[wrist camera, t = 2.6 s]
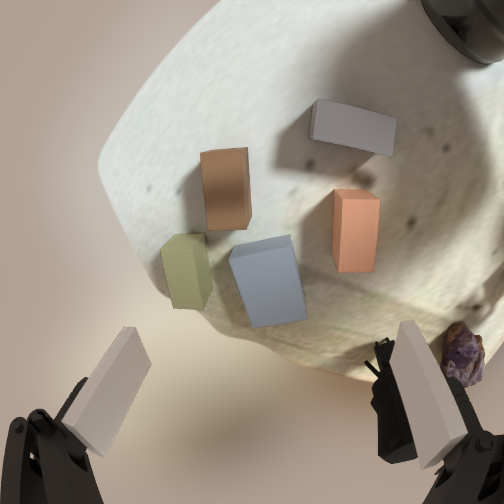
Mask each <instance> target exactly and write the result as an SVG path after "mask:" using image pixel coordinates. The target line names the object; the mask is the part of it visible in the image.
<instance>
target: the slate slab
mask: <svg viewBox="0 0 504 504" xmlns="http://www.w3.org/2000/svg"><path fill="white" fill-rule="evenodd" d="M228 260H229V262H230V265H231V268H232V271H233V274H234V277H235V280H236V283H237V286H238V289H239V291H240V294H241V297H242V300H243V303H244V306H245V308H246V311H247V314H248V317H249V320H250V322H251V325H252V328H258V327H265V326H272V325H278V324H284V323H290V322H296V321H302V320H307V312H306V302H305V297H304V292H303V288H302V283H301V279H300V274H299V270H298V265H297V261H296V257H295V252H294V248H293V244H292V240H291V235H290V234H288V235H284V236H279V237H274V238H270V239H265V240H260V241H256V242H251V243H247V244H242V245H238V246H234V248H233V250H232V252H231V255H230V257H229V259H228Z"/></svg>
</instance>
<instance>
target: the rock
mask: <svg viewBox="0 0 504 504" xmlns="http://www.w3.org/2000/svg"><path fill="white" fill-rule="evenodd" d="M442 352H443V354H442V360H441V365H440V369H441V371H442V373H443V375H444V377H445V378H448V377H452V376H454V377H456V378H457V379H458V380H459V381H460V382H461V383H462V385H463V387H464V388H466V387H469V386H472V385H474V384H476V383H477V382H480V381H481V379H482V377H483V376H484V372H485V369H484V365H485V363H484V357H485V352H484V348H483V345H482V337H481V336H480V335H474V334H473V333H472V332H471V331H470V330H469V329H468V327H467V326H466V325H465V323H464V322H463V321H460V322H458V323H455V324H454V325H453V326H452V327H450V329H449V330H448V332H447V336H446V344H445V346H444V347H443V350H442Z"/></svg>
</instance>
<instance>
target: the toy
mask: <svg viewBox="0 0 504 504" xmlns="http://www.w3.org/2000/svg"><path fill="white" fill-rule="evenodd" d="M386 342H387V343H384V344H382V345H379V344H378V342H375V344H376V347H374V350H375V354H376V358H377V362H378V365H379V369H380V372H378V371H377V370H376V369H375V368H374V367H373V366H372V365H371V364H370V363H369V362H368V361H367V360H366V361H365V362H364V363H365V365H366V366H367V367H368V368H369V369H370V370H371V371H372V372H373V373H374V374H375V375H376V376H377V377H378V379H377V380H376V381H375V382H374V384H373V386H372V391H373V396H374V397H373V399H372V401H371V405H372V407H373V408H374V410H375V411H376V413H377V415H378V456H380V457H381V458H382V459H383V460H385V461H386V462H388V463H390V464H394V463H400V462H404V461H409V460H413V459H416V458H418V454H417V450H416V446H415V443H414V439H413V435H412V431H411V428H410V424H409V421H408V417H407V414H406V411H405V407H404V404H403V401H402V398H401V395H400V391H399V388H398V385H397V382H396V379H395V377H394V374H393V371H392V368H391V365H390V358H391V355H392V352H393V348H394V345H395V341H394V340H392V341H390V340H389V339H388V337H387V338H386Z"/></svg>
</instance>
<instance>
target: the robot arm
mask: <svg viewBox="0 0 504 504" xmlns="http://www.w3.org/2000/svg"><path fill="white" fill-rule="evenodd" d="M421 1H422V4H423V6H424V9H425V11H426V12H427V14H428V16H429V18H430V19H431V21H432V22H433V24H434V25H435V27H436V28H437V29H438V30H439V32H440V33H441V34H442V35H443V36H444V38H445V39H446V40H447V41H448V42H449V43H450V44H451V45H452V46H454V47H455V48H456V49H457V50H458V51H459V52H461V53H462V54H464V55H465V56H467V57H468V58H470V59H472V60H474V61H476V62H479V63H483V64H489V63H494V62H499V61H501V60H503V59H504V0H421ZM390 365H391V368H392V371H393V374H394V377H395V379H396V382H397V385H398V388H399V391H400V395H401V398H402V401H403V404H404V407H405V411H406V414H407V417H408V421H409V424H410V428H411V431H412V435H413V439H414V443H415V446H416V450H417V454H418V458H419V463H420V467H421V470H422V469H425V468H428V467H431V466H434V465H437V464H438V463H439V462H440V461H441V460H442V459H443V461H444V465H443V466H442V467H441V468H440V469H438V471H437V472H436V473H435V475H437V474H438V473H439V472H440V473H439V475H438V477H437V479H436V481H435V483H434V484H433V486H432V488H431V490H430V491H429V493H428V495H427V497H426V499H425V500H424V502H423V503H422V504H504V435H496V436H495V435H493V434H492V433H490V432H488V431H484V430H483V429H482V427H481V425H480V422H479V420H478V418H477V415H476V413H475V411H474V409H473V406H472V404H471V402H470V401H469V398H468V395H467V394H466V391H465V389H464V387H463V385H462V383H461V382H460V381H459V380H458V379H457V378H456V377H454V376H452V377H448V378H445V377H444V375H443V373H442V371H441V369H440V367H439V365H438V363H437V361H436V359H435V357H434V355H433V353H432V351H431V350H430V348H429V346H428V344H427V342H426V340H425V338H424V336H423V335H422V333H421V331H420V329H419V327H418V326H417V324H416V322H415V320H410V321H403V322H400V326H399V330H398V334H397V338H396V341H395V345H394V348H393V352H392V355H391V358H390ZM150 366H151V362H150V360H149V358H148V356H147V353H146V351H145V349H144V347H143V344H142V342H141V339H140V337H139V335H138V332H137V330H136V328H134V327H123V329H122V330H121V332H120V333H119V334H118V336H117V337H116V339H115V340H114V341H113V343H112V344H111V346H110V347H109V349H108V350H107V351H106V353H105V354H104V356H103V357H102V359H101V360H100V362H99V363H98V365H97V366H96V368H95V369H94V371H93V372H92V374H91V375H90V377H89V378H87V377H84V378H83V379H82V380H81V381H80V382H78V383H77V385H76V386H75V388H74V389H73V392H71V394H70V396H69V398H67V400H66V402H65V403H64V405H63V406H62V408H61V409H60V411H59V413H58V414H57V416H56V417H55V419H54V420H53V419H52V418H51V417H50V416H49V414H48V413H47V412H46V411H45V410H43V409H36V410H34V411H32V412H31V413H30V414H29V416H28V418H27V420H26V419H24V418H23V417H17V418H16V419H14V420H13V421H12V422H11V424H10V427H9V433H8V438H7V443H6V448H5V455H4V461H3V469H2V480H1V493H0V504H104V503H103V501H102V498H101V495H100V493H99V490H98V487H97V484H96V481H95V478H94V475H93V471H92V468H91V465H90V461H89V458H88V455H87V453H86V452H85V451H86V449H87V448H88V449H89V450H90V451H91V452H92V453H93V454H96V455H98V456H101V457H103V458H107V455H108V453H109V451H110V449H111V446H112V444H113V442H114V440H115V438H116V436H117V434H118V432H119V429H120V427H121V425H122V423H123V421H124V419H125V417H126V415H127V413H128V411H129V409H130V407H131V405H132V402H133V400H134V398H135V396H136V394H137V392H138V390H139V388H140V386H141V384H142V382H143V380H144V378H145V376H146V374H147V372H148V370H149V368H150ZM30 452H31V453H32V454H33V455H34V457H33V459H31V458H30Z"/></svg>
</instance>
